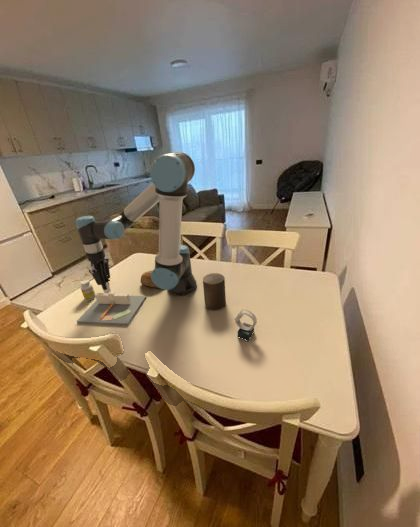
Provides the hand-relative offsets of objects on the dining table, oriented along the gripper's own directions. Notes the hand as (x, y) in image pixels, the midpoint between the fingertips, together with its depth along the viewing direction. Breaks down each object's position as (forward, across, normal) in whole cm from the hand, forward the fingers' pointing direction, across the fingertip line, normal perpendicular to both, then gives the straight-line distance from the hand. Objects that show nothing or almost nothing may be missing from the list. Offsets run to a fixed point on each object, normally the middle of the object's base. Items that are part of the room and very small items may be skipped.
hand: (108, 293), depth 118 cm
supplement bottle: (+3, 0, -11) cm, 11 cm away
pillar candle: (+3, +1, +54) cm, 54 cm away
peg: (+1, +11, +6) cm, 12 cm away
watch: (+3, +20, +68) cm, 71 cm away
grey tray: (+3, +9, +7) cm, 12 cm away
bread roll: (+3, -13, +18) cm, 23 cm away
